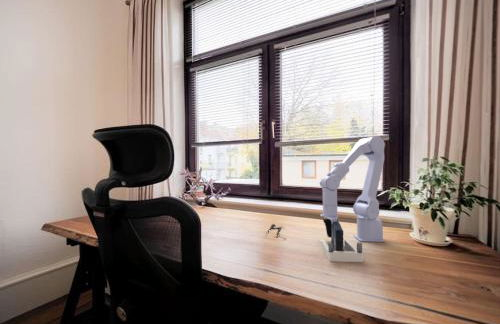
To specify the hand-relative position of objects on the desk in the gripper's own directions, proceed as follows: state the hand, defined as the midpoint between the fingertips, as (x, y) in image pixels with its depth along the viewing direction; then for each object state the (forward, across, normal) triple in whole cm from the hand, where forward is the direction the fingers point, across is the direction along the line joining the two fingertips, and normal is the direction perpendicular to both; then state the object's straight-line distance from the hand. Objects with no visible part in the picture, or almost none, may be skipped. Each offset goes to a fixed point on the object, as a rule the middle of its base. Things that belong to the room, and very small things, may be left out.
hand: (330, 236), depth 97 cm
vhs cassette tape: (+2, +10, 0) cm, 11 cm away
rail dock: (+2, +13, 0) cm, 13 cm away
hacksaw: (+3, -12, -22) cm, 25 cm away
